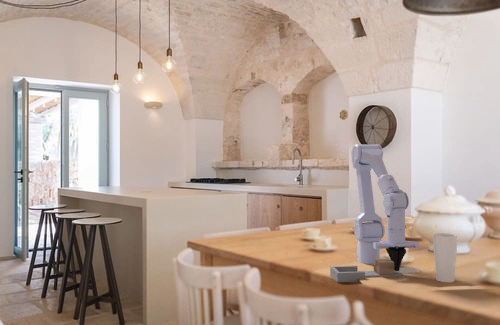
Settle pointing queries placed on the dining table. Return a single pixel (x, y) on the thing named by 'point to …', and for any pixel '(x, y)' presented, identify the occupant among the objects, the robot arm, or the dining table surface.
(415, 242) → the robot arm
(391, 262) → the block
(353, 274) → the grey square pan
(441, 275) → the drinking glass
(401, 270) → the plate
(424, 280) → the dining table surface
